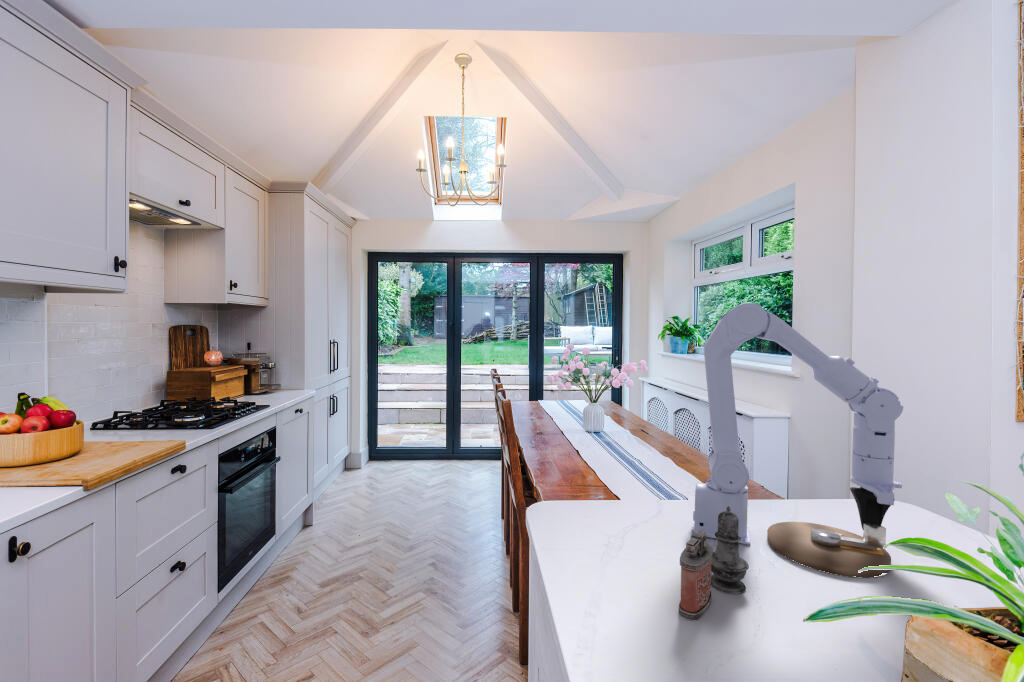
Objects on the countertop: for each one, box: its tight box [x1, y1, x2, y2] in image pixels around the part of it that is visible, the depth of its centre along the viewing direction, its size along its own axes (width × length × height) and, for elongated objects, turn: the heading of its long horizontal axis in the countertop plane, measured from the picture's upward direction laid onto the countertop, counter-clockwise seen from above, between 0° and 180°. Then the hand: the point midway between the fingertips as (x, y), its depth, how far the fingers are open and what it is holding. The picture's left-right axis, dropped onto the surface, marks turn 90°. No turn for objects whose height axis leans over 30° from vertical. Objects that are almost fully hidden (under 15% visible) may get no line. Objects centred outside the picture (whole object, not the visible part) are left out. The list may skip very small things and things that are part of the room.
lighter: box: [678, 531, 714, 621], centre depth 64 cm, size 8×3×10 cm, turn 141°
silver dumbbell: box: [811, 523, 887, 550], centre depth 80 cm, size 11×4×4 cm, turn 66°
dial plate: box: [766, 521, 892, 579], centre depth 81 cm, size 18×18×2 cm
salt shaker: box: [711, 506, 750, 595], centre depth 69 cm, size 6×6×12 cm
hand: (870, 531), depth 80 cm, fingers closed
